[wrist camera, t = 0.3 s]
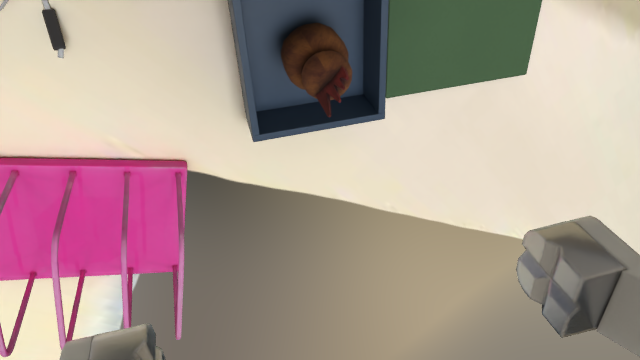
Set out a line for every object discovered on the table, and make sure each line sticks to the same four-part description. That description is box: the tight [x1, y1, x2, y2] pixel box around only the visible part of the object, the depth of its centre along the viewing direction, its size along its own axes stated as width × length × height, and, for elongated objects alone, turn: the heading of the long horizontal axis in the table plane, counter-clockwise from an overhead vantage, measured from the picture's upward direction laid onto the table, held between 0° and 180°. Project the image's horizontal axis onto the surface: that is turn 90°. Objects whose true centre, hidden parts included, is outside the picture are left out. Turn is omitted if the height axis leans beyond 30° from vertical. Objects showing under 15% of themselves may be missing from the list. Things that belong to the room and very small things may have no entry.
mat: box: [385, 0, 542, 98], centre depth 59 cm, size 17×20×1 cm
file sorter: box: [0, 158, 187, 357], centre depth 55 cm, size 17×25×16 cm
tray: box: [228, 0, 389, 142], centre depth 53 cm, size 17×16×6 cm
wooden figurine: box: [281, 23, 352, 117], centre depth 49 cm, size 7×6×15 cm
